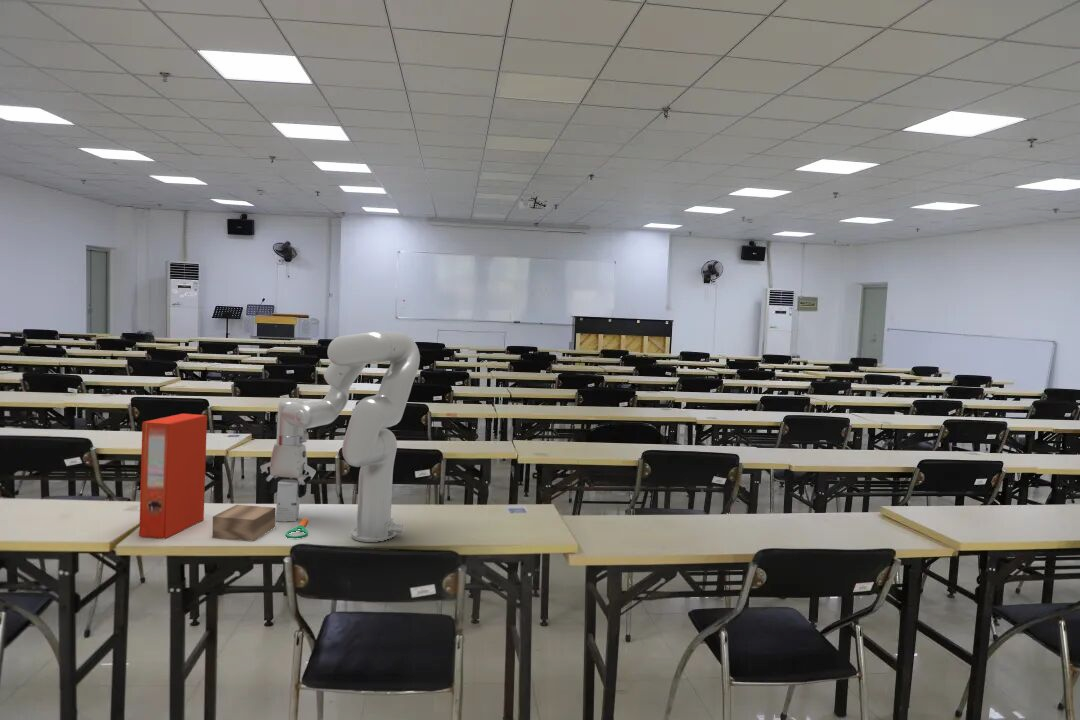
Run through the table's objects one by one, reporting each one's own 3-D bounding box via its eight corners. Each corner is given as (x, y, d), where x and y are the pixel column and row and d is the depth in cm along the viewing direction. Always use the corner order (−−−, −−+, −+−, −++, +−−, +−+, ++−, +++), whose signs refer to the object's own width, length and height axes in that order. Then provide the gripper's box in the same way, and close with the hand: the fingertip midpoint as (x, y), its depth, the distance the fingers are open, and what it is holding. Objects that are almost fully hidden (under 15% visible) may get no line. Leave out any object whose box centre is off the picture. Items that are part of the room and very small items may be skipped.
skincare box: (275, 521, 195) (276, 482, 194) (279, 517, 199) (280, 478, 198) (296, 522, 196) (297, 482, 195) (299, 517, 200) (301, 479, 199)
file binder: (204, 520, 193) (207, 415, 191) (167, 539, 176) (169, 423, 174) (179, 518, 193) (181, 413, 192) (139, 537, 176) (141, 421, 174)
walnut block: (274, 527, 189) (275, 507, 189) (253, 541, 177) (254, 519, 177) (236, 524, 190) (236, 504, 190) (212, 537, 178) (212, 516, 178)
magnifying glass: (305, 540, 181) (305, 534, 181) (282, 540, 180) (283, 534, 180) (315, 523, 196) (315, 518, 196) (294, 523, 195) (294, 518, 195)
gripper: (322, 440, 199) (318, 494, 200) (268, 435, 201) (266, 488, 202) (311, 445, 192) (308, 501, 193) (256, 439, 193) (253, 495, 194)
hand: (286, 494), depth 197 cm, fingers open, 9 cm apart
